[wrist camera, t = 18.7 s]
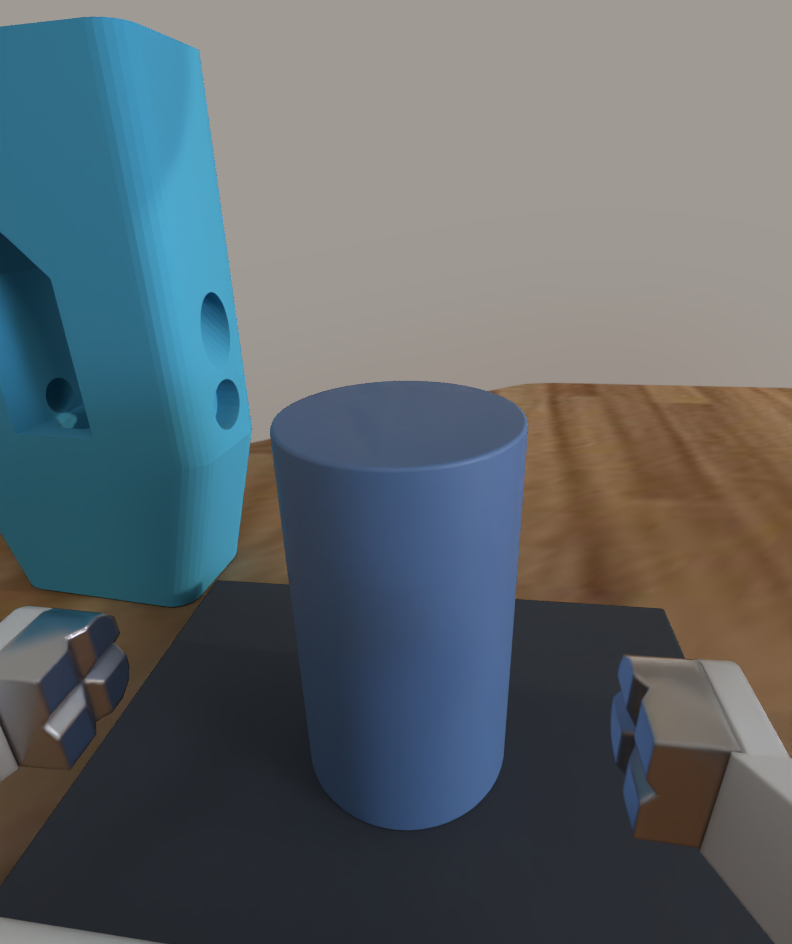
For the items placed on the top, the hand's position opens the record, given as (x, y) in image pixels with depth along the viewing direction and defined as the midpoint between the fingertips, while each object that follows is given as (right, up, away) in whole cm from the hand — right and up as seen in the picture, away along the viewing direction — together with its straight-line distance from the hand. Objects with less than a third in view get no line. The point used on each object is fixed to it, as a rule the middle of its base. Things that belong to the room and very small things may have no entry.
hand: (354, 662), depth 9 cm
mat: (+1, -6, +8) cm, 10 cm away
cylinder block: (+1, -5, +8) cm, 9 cm away
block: (-12, -2, +18) cm, 22 cm away
